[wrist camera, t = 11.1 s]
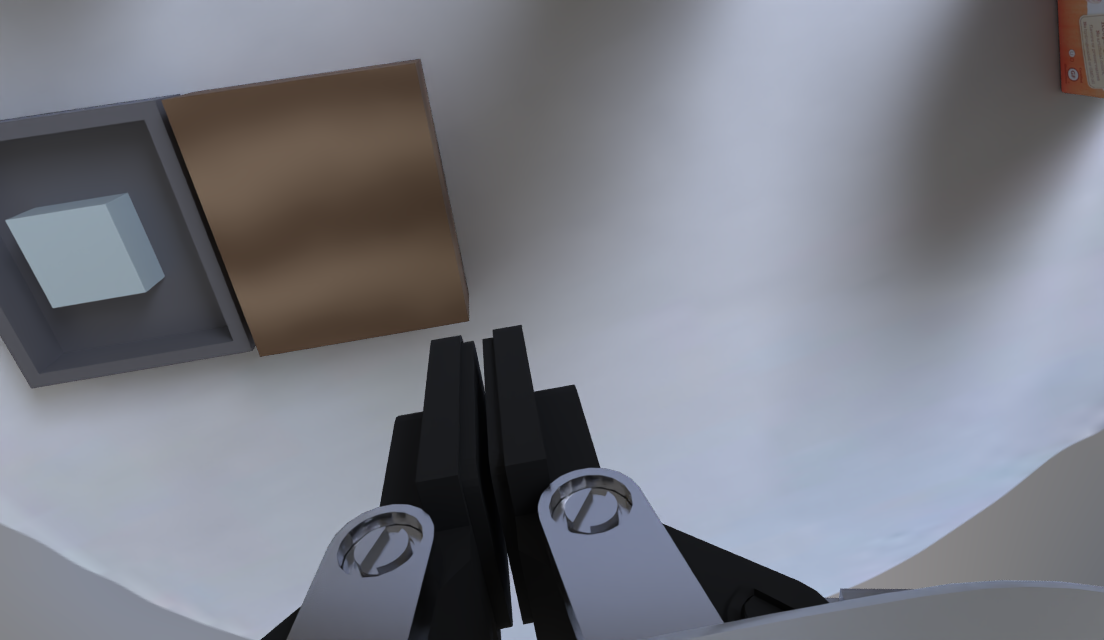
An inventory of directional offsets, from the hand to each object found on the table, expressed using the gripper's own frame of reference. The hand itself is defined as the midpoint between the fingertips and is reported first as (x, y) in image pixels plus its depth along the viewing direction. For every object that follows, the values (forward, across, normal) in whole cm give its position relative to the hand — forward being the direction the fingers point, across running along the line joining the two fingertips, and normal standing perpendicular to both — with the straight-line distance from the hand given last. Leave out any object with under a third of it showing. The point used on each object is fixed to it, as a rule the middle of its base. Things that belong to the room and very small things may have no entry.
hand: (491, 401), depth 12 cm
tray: (+27, +21, +2) cm, 34 cm away
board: (+27, +8, +2) cm, 28 cm away
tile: (+24, +22, +2) cm, 32 cm away
